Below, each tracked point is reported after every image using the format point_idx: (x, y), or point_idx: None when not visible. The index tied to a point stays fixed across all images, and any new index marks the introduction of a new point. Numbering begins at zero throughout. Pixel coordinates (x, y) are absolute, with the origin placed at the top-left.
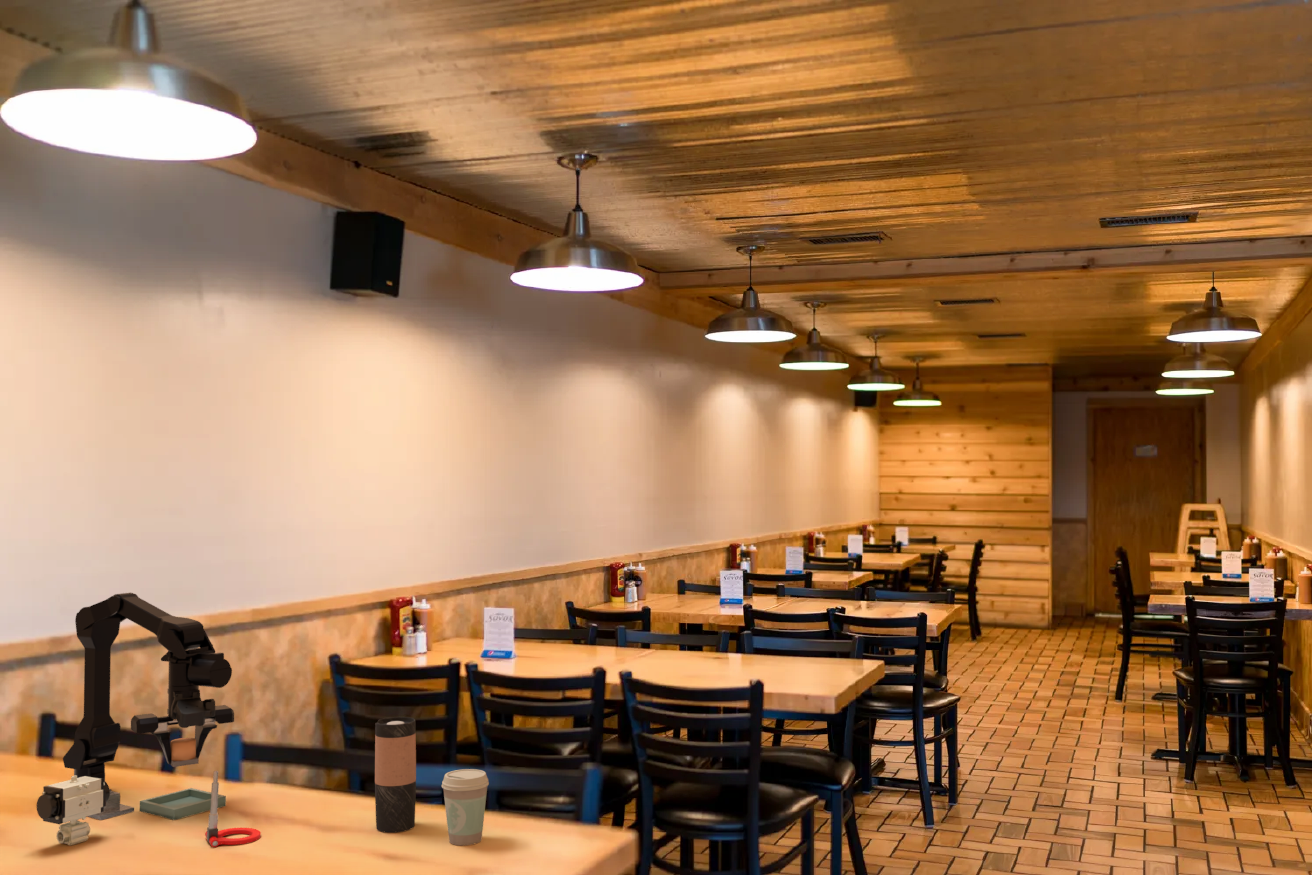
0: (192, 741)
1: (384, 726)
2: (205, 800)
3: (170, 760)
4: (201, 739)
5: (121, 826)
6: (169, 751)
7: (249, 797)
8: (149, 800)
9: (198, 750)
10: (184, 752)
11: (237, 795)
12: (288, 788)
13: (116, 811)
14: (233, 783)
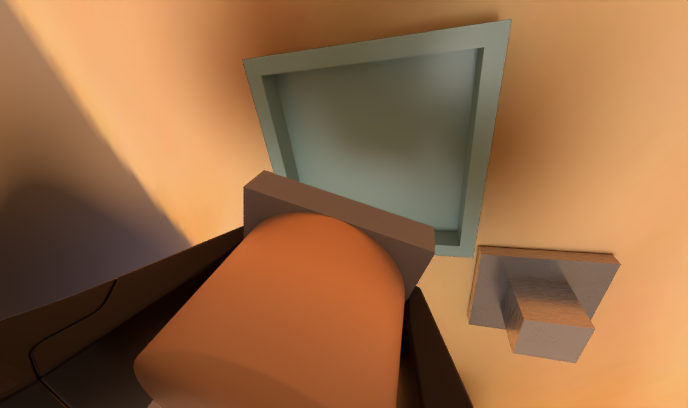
0: (176, 346)
1: None
2: (326, 63)
3: (412, 299)
4: (77, 325)
5: (681, 126)
6: (430, 371)
7: (179, 93)
8: (444, 243)
9: (200, 259)
10: (327, 272)
11: (204, 145)
12: (74, 88)
13: (545, 263)
14: (193, 241)
